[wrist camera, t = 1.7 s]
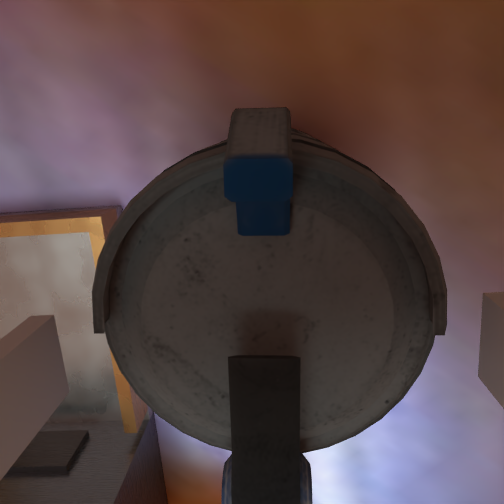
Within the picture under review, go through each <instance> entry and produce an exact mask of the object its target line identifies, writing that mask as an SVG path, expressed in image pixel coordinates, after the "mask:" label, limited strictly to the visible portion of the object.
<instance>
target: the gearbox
mask: <svg viewBox="0 0 504 504" xmlns="http://www.w3.org/2000/svg"><path fill="white" fill-rule="evenodd" d="M121 213H122V206H121V205H119V206H104V207H89V208H74V209H59V210H44V211H29V212H14V213H0V339H1V338H3V337H4V336H5V335H7V334H8V333H9V332H10V331H12V330H13V329H14V328H16V327H17V326H18V325H20V324H21V323H22V322H23V321H25V320H26V319H27V318H29V317H30V316H39V315H54V318H55V322H56V327H57V332H58V337H59V342H60V347H61V352H62V357H63V362H64V367H65V371H66V376H67V381H68V386H69V391H70V392H69V393H68V395H67V396H66V397H65V398H64V400H63V401H62V402H61V403H60V405H59V406H58V407H57V409H56V410H55V411H54V412H53V414H52V415H51V416H50V418H49V419H48V420H47V421H46V423H45V424H44V425H43V427H42V428H41V429H40V430H39V432H38V433H37V434H36V436H35V437H34V438H33V439H32V441H31V442H30V443H29V445H28V446H27V447H26V448H25V450H24V451H23V452H22V454H21V455H20V456H19V457H18V459H17V460H16V461H15V463H14V464H13V465H12V466H11V468H10V469H9V470H8V472H7V473H6V474H5V475H4V477H3V478H2V479H1V481H0V504H168V502H167V495H166V489H165V482H164V476H163V469H162V463H161V457H160V450H159V444H158V437H157V431H156V424H155V418H154V412H153V410H152V409H151V408H150V407H149V406H148V405H147V404H146V403H145V402H144V401H143V400H142V399H141V398H140V397H139V396H138V395H137V394H136V393H135V391H134V390H133V389H132V387H131V386H130V384H129V383H128V381H127V380H126V379H125V377H124V376H123V374H122V373H121V371H120V370H119V368H118V365H117V363H116V361H115V359H114V356H113V354H112V352H111V350H110V348H109V345H108V343H107V339H106V334H94V329H93V309H92V287H93V282H94V277H95V271H96V266H97V261H98V257H99V255H100V253H101V250H102V248H103V246H104V243H105V241H106V239H107V236H108V234H109V231H110V229H111V227H112V226H113V225H114V223H115V222H116V220H117V219H118V218H119V216H120V215H121Z"/></svg>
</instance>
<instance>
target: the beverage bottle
mask: <svg viewBox="0 0 504 504" xmlns="http://www.w3.org/2000/svg"><path fill="white" fill-rule="evenodd" d="M92 309H93V329H94V334H106V339H107V343H108V345H109V348H110V350H111V352H112V354H113V356H114V359H115V361H116V363H117V365H118V368H119V370H120V371H121V373H122V374H123V376H124V377H125V379H126V380H127V381H128V383H129V384H130V386H131V387H132V389H133V390H134V391H135V393H136V394H137V395H138V396H139V397H140V398H141V399H142V400H143V401H144V402H145V403H146V404H147V405H148V406H149V407H150V408H151V409H152V410H153V411H154V412H155V413H156V414H157V415H158V416H159V417H161V418H162V419H164V420H165V421H167V422H168V423H169V424H171V425H172V426H174V427H175V428H177V429H178V430H180V431H181V432H183V433H185V434H187V435H189V436H191V437H193V438H196V439H198V440H200V441H202V442H204V443H206V444H209V445H211V446H215V447H219V448H222V449H226V450H230V451H232V454H231V456H230V457H229V458H228V459H227V461H226V462H225V465H224V470H223V480H222V504H312V479H311V467H310V463H309V462H308V460H307V459H306V458H305V457H304V455H303V454H302V453H306V452H310V451H314V450H319V449H323V448H327V447H330V446H332V445H335V444H337V443H339V442H342V441H344V440H347V439H349V438H351V437H354V436H356V435H357V434H359V433H361V432H362V431H364V430H365V429H367V428H368V427H370V426H371V425H373V424H374V423H376V422H377V421H379V420H381V419H382V418H383V417H384V416H385V415H386V414H387V413H388V412H389V411H390V410H391V409H392V408H393V407H394V406H395V405H396V404H398V403H399V402H400V401H401V400H402V399H403V398H404V396H405V395H406V393H407V392H408V391H409V389H410V388H411V386H412V385H413V383H414V382H415V381H416V379H417V378H418V376H419V375H420V374H421V372H422V369H423V367H424V365H425V362H426V360H427V358H428V356H429V353H430V351H431V349H432V346H433V343H434V338H435V335H445V331H446V326H447V288H446V283H445V279H444V275H443V270H442V266H441V262H440V257H439V255H438V253H437V251H436V249H435V247H434V245H433V243H432V240H431V238H430V236H429V234H428V232H427V230H426V228H425V226H424V224H423V223H422V222H421V221H420V219H419V218H418V217H417V215H416V214H415V213H414V212H413V210H412V209H411V208H410V206H409V205H408V204H407V203H406V201H405V200H404V199H403V198H402V196H400V195H399V194H398V193H397V192H396V191H395V190H394V189H393V188H392V187H391V186H390V185H389V184H387V183H386V182H385V181H384V180H383V179H381V178H380V177H379V176H378V175H377V174H375V173H374V172H373V171H372V170H371V169H370V168H368V167H367V166H365V165H363V164H361V163H360V162H358V161H356V160H354V159H352V158H350V157H348V156H346V155H345V154H343V153H341V152H339V151H338V150H336V149H334V148H332V147H330V146H328V145H327V144H325V143H323V142H321V141H319V140H317V139H315V138H313V137H311V136H309V135H308V134H306V133H304V132H302V131H299V130H295V129H292V128H291V118H290V111H289V110H288V109H287V108H286V107H283V108H243V109H235V110H234V112H233V113H232V116H231V122H230V128H229V134H228V139H227V140H224V141H222V142H220V143H218V144H215V145H212V146H210V147H207V148H205V149H202V150H200V151H197V152H195V153H193V154H191V155H189V156H188V157H186V158H184V159H183V160H181V161H179V162H178V163H176V164H174V165H172V166H171V167H169V168H167V169H166V170H164V171H163V172H162V173H161V174H160V175H158V176H157V177H156V178H155V179H153V180H152V181H151V182H150V183H149V184H148V185H147V186H146V187H145V188H144V189H143V190H141V191H140V192H139V193H138V194H137V195H136V196H135V197H134V198H133V199H132V200H131V201H130V202H129V203H128V205H127V206H126V208H125V209H124V210H123V212H122V213H121V215H120V216H119V218H118V219H117V220H116V222H115V223H114V225H113V226H112V227H111V229H110V231H109V234H108V236H107V239H106V241H105V243H104V246H103V248H102V250H101V253H100V255H99V257H98V261H97V266H96V271H95V277H94V282H93V287H92Z"/></svg>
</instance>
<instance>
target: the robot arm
mask: <svg viewBox="0 0 504 504" xmlns="http://www.w3.org/2000/svg"><path fill="white" fill-rule="evenodd" d="M478 377H479V378H480V379H481V381H482V382H483V383H484V385H485V386H486V387H487V388H488V390H489V391H490V392H491V393H492V395H493V396H494V397H495V398H496V400H497V401H498V402H499V403H500V405H501V406H502V407H503V408H504V292H495V293H483V302H482V318H481V335H480V351H479V368H478ZM69 392H70V391H69V386H68V381H67V376H66V371H65V367H64V362H63V357H62V352H61V347H60V342H59V337H58V332H57V327H56V322H55V318H54V315H39V316H30V317H29V318H27V319H26V320H25V321H23V322H22V323H21V324H20V325H18V326H17V327H16V328H14V329H13V330H12V331H10V332H9V333H8V334H7V335H5V336H4V337H3V338H1V339H0V481H1V479H2V478H3V477H4V475H5V474H6V473H7V472H8V470H9V469H10V468H11V466H12V465H13V464H14V463H15V461H16V460H17V459H18V457H19V456H20V455H21V454H22V452H23V451H24V450H25V448H26V447H27V446H28V445H29V443H30V442H31V441H32V439H33V438H34V437H35V436H36V434H37V433H38V432H39V430H40V429H41V428H42V427H43V425H44V424H45V423H46V421H47V420H48V419H49V418H50V416H51V415H52V414H53V412H54V411H55V410H56V409H57V407H58V406H59V405H60V403H61V402H62V401H63V400H64V398H65V397H66V396H67V395H68V393H69Z"/></svg>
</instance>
